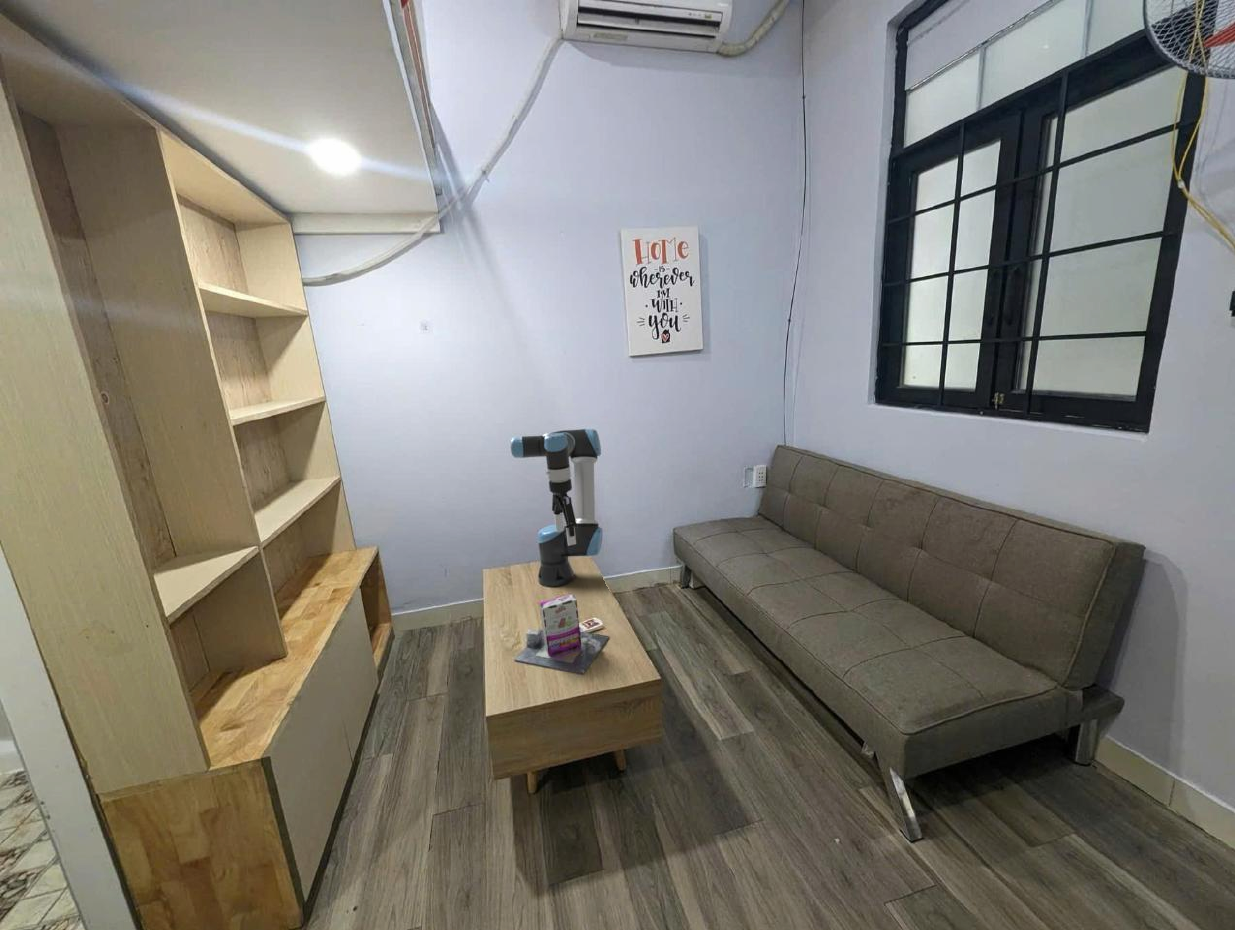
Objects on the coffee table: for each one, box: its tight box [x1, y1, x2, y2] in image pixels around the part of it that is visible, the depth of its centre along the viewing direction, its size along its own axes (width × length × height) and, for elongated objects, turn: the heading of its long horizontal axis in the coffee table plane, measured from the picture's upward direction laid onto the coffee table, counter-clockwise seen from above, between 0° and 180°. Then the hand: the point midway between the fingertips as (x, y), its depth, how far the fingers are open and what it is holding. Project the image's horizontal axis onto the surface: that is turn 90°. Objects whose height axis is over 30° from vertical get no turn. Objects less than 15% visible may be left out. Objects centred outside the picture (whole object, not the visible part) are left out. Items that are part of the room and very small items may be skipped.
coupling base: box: [513, 628, 610, 675], centre depth 155 cm, size 26×20×5 cm
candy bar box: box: [539, 593, 581, 655], centre depth 154 cm, size 11×5×16 cm, turn 113°
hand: (565, 537), depth 168 cm, fingers open, 13 cm apart
